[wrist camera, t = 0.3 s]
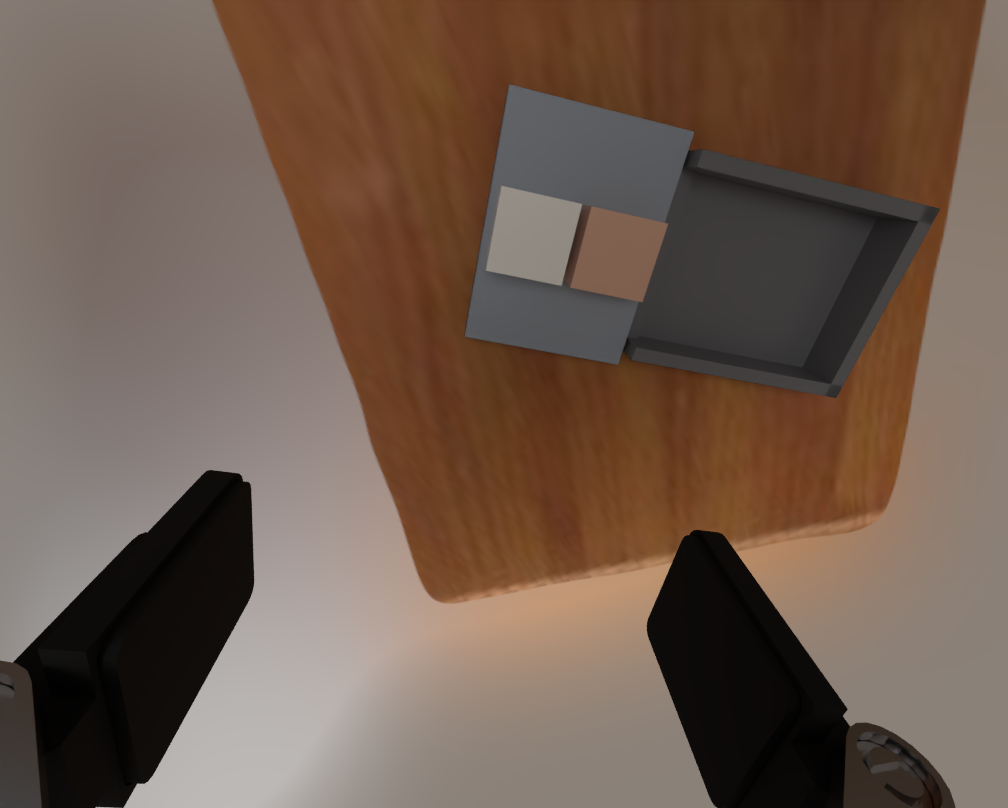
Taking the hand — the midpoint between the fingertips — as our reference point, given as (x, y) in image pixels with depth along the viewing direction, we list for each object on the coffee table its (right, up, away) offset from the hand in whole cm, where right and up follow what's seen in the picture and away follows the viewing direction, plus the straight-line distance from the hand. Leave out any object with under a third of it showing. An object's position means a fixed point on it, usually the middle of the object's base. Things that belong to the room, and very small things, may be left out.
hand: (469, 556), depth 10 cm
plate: (+5, +15, +25) cm, 29 cm away
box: (+20, +13, +26) cm, 35 cm away
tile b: (+8, +14, +23) cm, 28 cm away
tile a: (+2, +15, +22) cm, 27 cm away
